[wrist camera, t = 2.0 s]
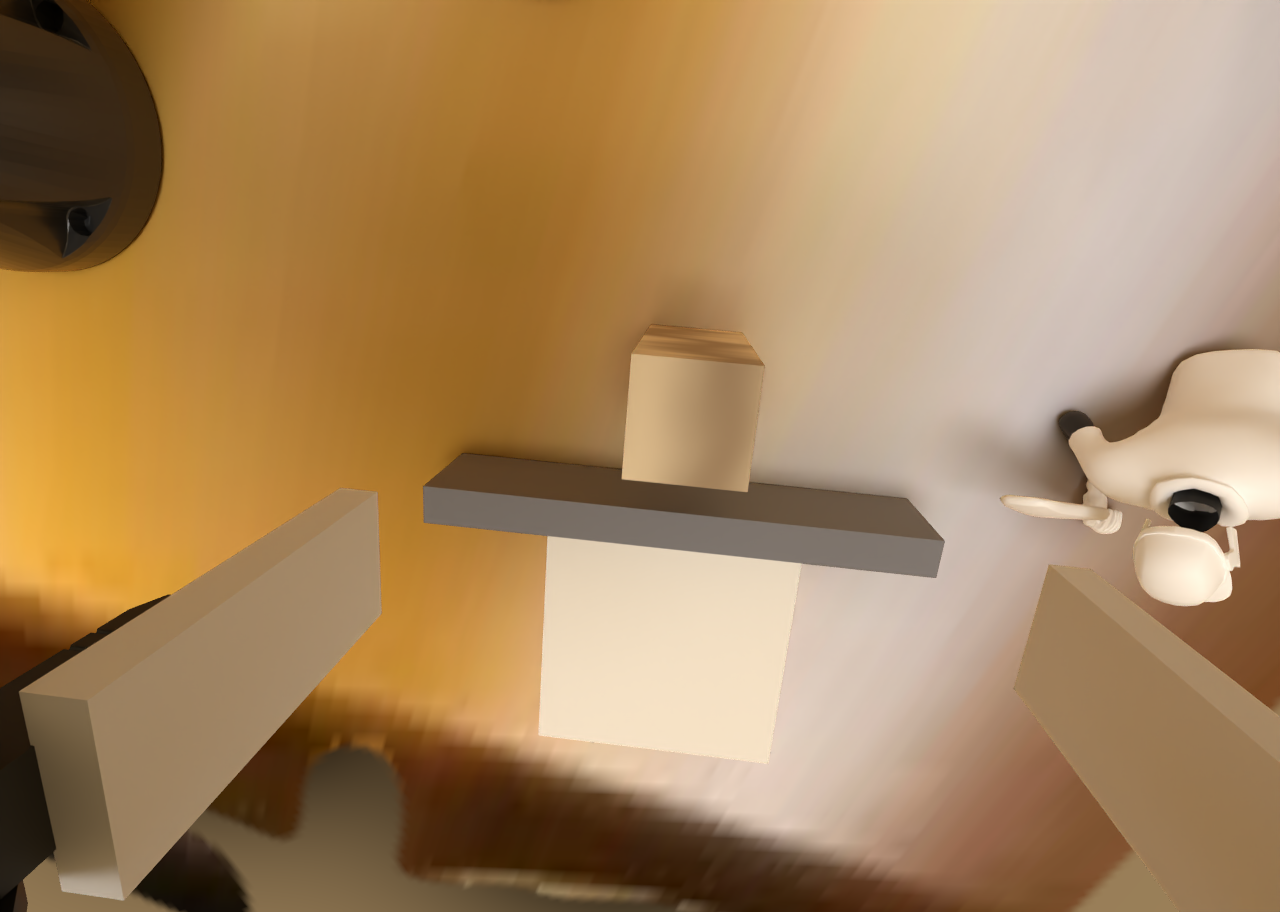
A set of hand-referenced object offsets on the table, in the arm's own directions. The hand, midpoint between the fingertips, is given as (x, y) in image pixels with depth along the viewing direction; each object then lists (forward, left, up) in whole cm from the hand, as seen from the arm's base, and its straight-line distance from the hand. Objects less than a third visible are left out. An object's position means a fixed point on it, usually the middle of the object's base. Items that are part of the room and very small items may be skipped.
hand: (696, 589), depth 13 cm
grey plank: (0, -7, -25) cm, 26 cm away
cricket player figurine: (+23, -2, -25) cm, 34 cm away
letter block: (0, 0, -25) cm, 25 cm away
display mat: (0, -17, -25) cm, 30 cm away
